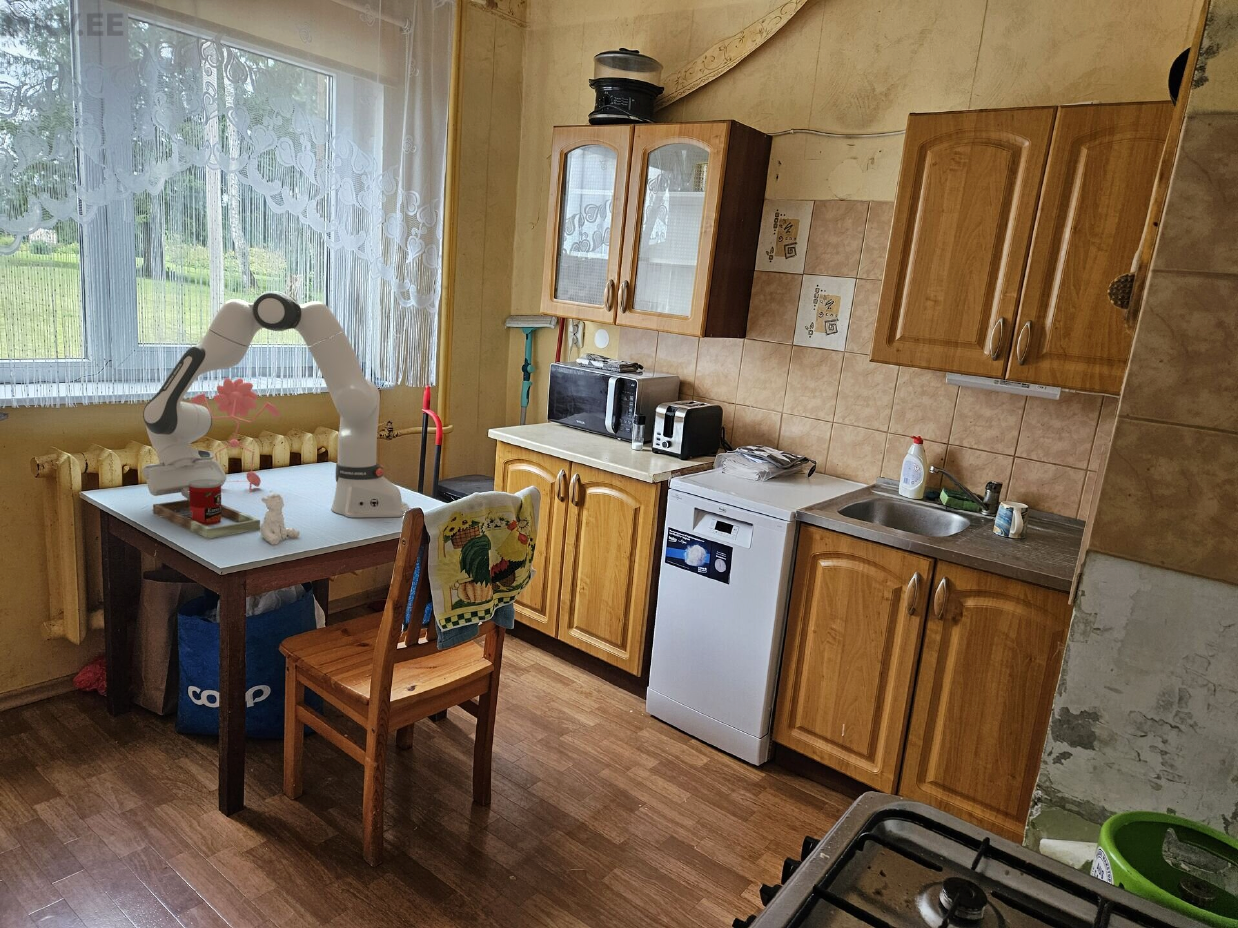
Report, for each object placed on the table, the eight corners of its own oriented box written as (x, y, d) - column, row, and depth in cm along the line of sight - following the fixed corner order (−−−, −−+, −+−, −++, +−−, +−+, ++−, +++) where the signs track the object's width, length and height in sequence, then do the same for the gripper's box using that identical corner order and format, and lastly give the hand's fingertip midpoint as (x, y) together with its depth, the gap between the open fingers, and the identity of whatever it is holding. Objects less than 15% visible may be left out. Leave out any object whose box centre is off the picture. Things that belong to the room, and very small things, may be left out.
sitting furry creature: (273, 546, 208) (273, 500, 206) (248, 539, 211) (247, 495, 209) (301, 537, 217) (301, 493, 214) (276, 531, 220) (276, 488, 217)
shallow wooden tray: (153, 513, 226) (152, 504, 226) (203, 505, 238) (203, 497, 237) (208, 538, 209) (208, 529, 209) (260, 529, 221) (260, 520, 220)
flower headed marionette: (279, 492, 257) (278, 382, 251) (188, 492, 249) (185, 378, 243) (282, 482, 272) (282, 377, 265) (196, 482, 263) (194, 373, 257)
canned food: (209, 526, 219) (208, 487, 217) (183, 522, 221) (182, 483, 218) (228, 519, 226) (227, 481, 224) (202, 515, 228) (201, 477, 226)
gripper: (143, 459, 219) (161, 501, 215) (217, 451, 235) (236, 490, 232) (136, 472, 223) (154, 514, 219) (210, 463, 239) (228, 502, 235)
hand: (197, 502), depth 225 cm, fingers closed
